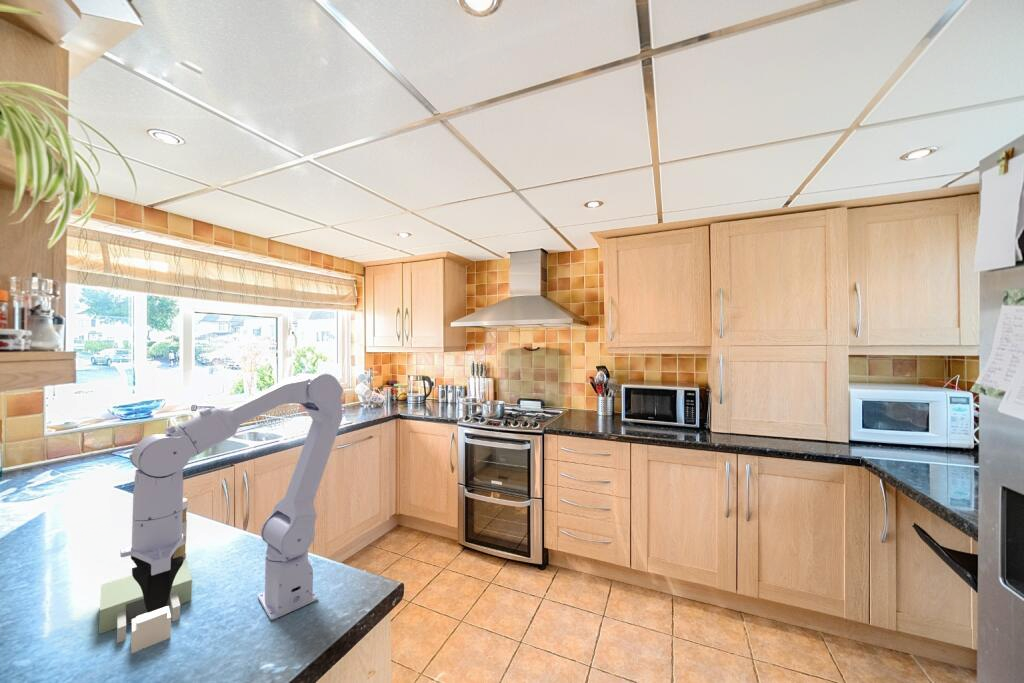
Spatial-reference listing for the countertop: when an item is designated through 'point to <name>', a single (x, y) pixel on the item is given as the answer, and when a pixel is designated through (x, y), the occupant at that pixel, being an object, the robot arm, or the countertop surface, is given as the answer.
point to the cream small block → (150, 628)
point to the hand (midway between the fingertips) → (155, 601)
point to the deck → (138, 601)
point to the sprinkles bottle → (181, 548)
